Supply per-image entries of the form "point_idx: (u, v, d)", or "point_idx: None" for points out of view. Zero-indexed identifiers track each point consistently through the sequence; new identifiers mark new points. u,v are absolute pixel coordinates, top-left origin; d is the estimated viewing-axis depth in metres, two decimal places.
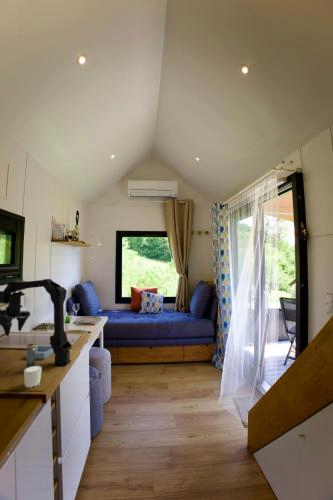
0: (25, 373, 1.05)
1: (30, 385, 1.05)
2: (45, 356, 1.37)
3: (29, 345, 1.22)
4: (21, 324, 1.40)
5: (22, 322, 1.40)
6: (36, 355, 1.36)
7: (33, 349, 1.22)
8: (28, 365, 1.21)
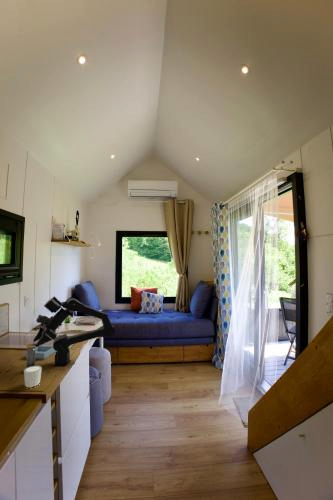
0: (25, 373, 1.05)
1: (30, 385, 1.05)
2: (45, 356, 1.37)
3: (29, 345, 1.22)
4: (40, 336, 1.30)
5: None
6: (36, 355, 1.36)
7: (33, 349, 1.22)
8: (28, 365, 1.21)
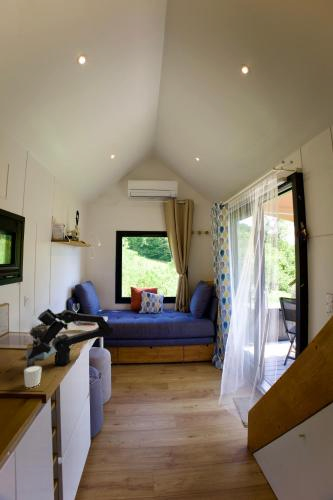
0: (25, 373, 1.05)
1: (30, 385, 1.05)
2: (45, 356, 1.37)
3: (29, 345, 1.22)
4: None
5: None
6: None
7: (33, 349, 1.22)
8: (28, 365, 1.21)
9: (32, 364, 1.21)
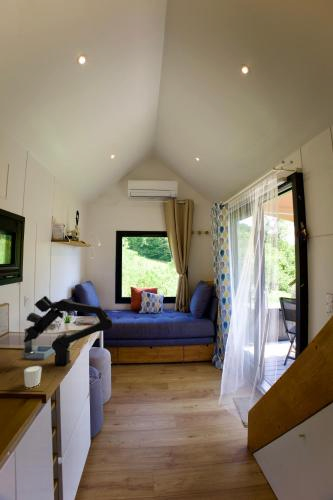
0: (25, 373, 1.05)
1: (30, 385, 1.05)
2: (45, 356, 1.37)
3: (26, 329, 1.28)
4: None
5: None
6: (36, 355, 1.36)
7: None
8: (24, 348, 1.27)
9: (28, 347, 1.27)
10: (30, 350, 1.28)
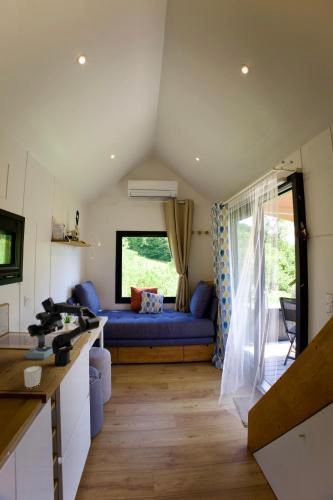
0: (25, 373, 1.05)
1: (30, 385, 1.05)
2: (45, 356, 1.37)
3: None
4: (46, 333, 1.43)
5: (48, 332, 1.43)
6: (36, 355, 1.36)
7: None
8: None
9: (39, 343, 1.40)
10: (40, 346, 1.40)
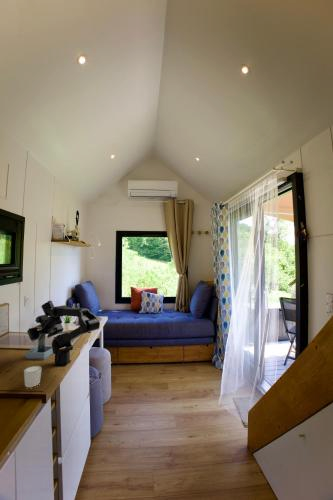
0: (25, 373, 1.05)
1: (30, 385, 1.05)
2: (45, 356, 1.37)
3: None
4: (51, 334, 1.45)
5: (52, 334, 1.45)
6: (36, 355, 1.36)
7: (40, 336, 1.41)
8: None
9: (38, 348, 1.40)
10: (40, 351, 1.40)
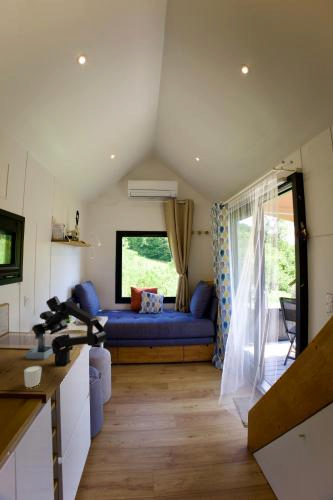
0: (25, 373, 1.05)
1: (30, 385, 1.05)
2: (45, 356, 1.37)
3: None
4: (54, 331, 1.41)
5: (56, 331, 1.41)
6: (36, 355, 1.36)
7: None
8: None
9: (38, 348, 1.40)
10: (40, 351, 1.40)
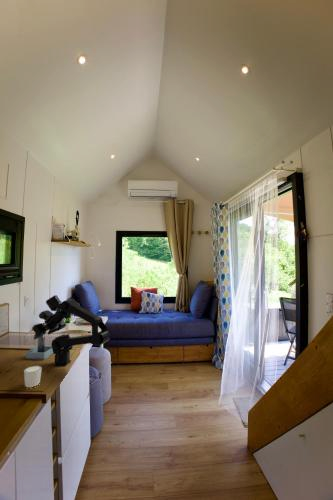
0: (25, 373, 1.05)
1: (30, 385, 1.05)
2: (45, 356, 1.37)
3: None
4: (52, 331, 1.40)
5: (54, 330, 1.40)
6: (36, 355, 1.36)
7: None
8: None
9: (38, 348, 1.40)
10: (40, 351, 1.40)
